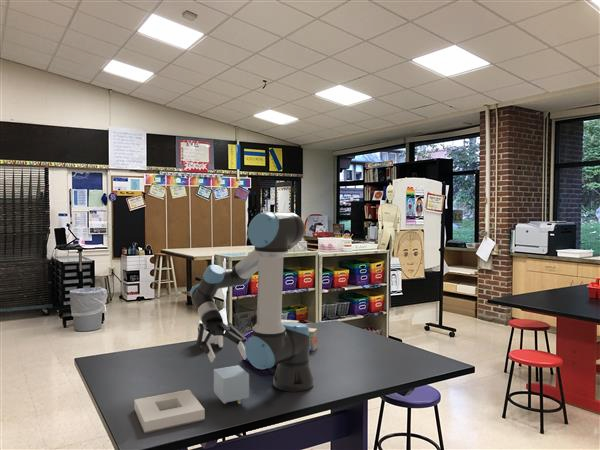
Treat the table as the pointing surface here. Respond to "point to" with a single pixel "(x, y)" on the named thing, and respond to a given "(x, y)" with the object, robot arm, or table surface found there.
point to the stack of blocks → (311, 338)
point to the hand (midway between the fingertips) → (230, 358)
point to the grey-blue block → (231, 384)
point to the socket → (168, 410)
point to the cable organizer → (212, 337)
